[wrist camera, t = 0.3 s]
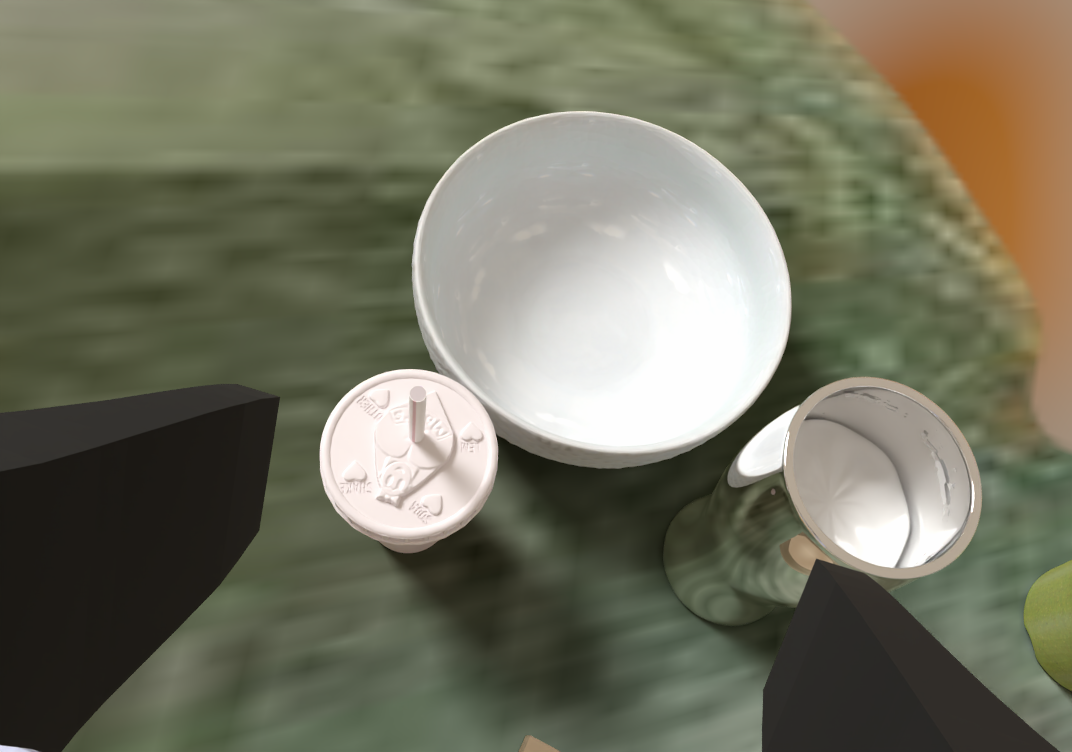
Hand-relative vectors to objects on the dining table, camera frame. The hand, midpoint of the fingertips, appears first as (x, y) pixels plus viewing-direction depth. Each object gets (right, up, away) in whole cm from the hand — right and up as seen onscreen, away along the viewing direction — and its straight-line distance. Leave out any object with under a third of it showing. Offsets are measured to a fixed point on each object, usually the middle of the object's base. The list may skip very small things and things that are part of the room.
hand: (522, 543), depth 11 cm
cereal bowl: (+2, +4, +34) cm, 34 cm away
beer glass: (+9, -6, +30) cm, 32 cm away
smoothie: (-6, -4, +29) cm, 30 cm away
